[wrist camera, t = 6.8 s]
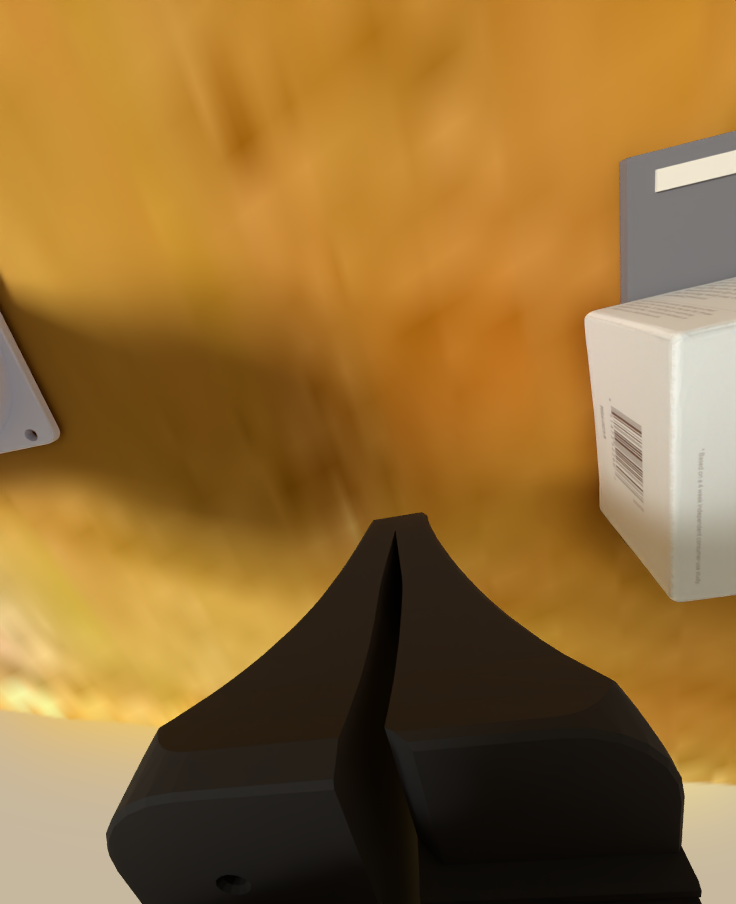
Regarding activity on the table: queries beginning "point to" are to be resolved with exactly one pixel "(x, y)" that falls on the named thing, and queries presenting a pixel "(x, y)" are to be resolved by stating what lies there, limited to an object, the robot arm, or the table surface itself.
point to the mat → (678, 217)
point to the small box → (670, 433)
